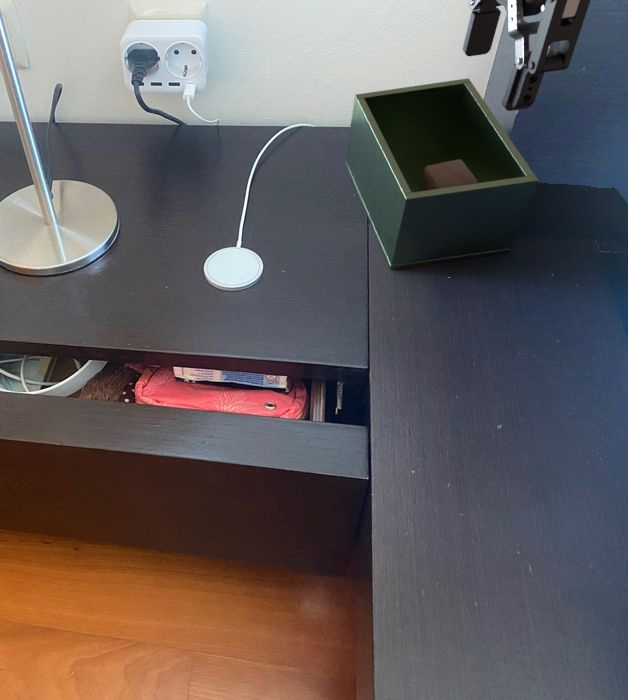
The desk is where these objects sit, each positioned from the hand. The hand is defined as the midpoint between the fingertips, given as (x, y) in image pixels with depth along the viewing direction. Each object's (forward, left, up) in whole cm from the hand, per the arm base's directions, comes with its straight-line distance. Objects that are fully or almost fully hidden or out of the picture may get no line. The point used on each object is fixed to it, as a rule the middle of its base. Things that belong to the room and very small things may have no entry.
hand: (494, 79), depth 60 cm
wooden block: (+2, -2, -20) cm, 20 cm away
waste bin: (+5, -5, -20) cm, 22 cm away
